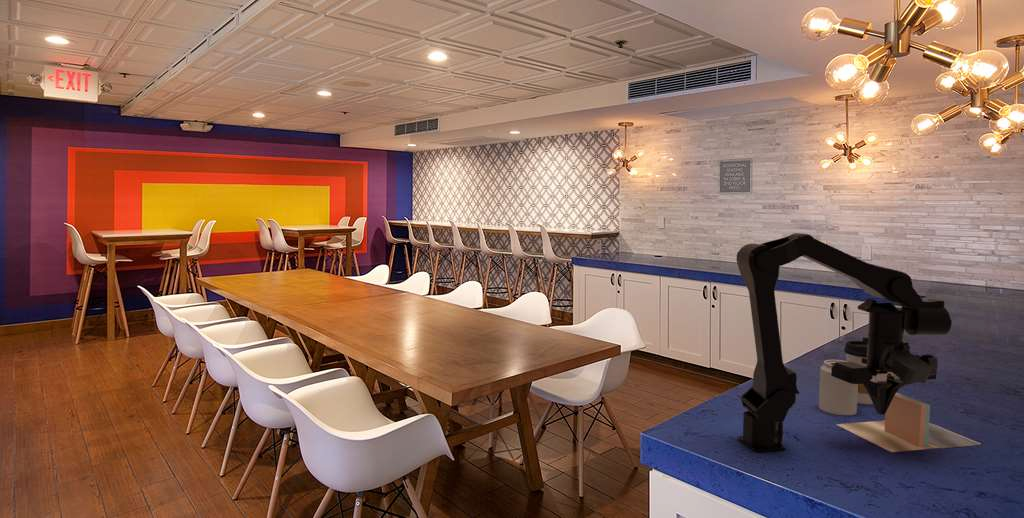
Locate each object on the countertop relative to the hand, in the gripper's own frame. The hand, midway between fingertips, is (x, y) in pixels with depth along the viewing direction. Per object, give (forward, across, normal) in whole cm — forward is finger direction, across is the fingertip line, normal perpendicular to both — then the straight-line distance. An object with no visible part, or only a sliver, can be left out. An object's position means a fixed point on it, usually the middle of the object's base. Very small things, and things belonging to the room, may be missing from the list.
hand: (881, 413), depth 112 cm
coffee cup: (+7, +15, +22) cm, 27 cm away
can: (+7, +5, +17) cm, 19 cm away
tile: (+5, +6, 0) cm, 8 cm away
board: (+6, +8, +2) cm, 10 cm away
